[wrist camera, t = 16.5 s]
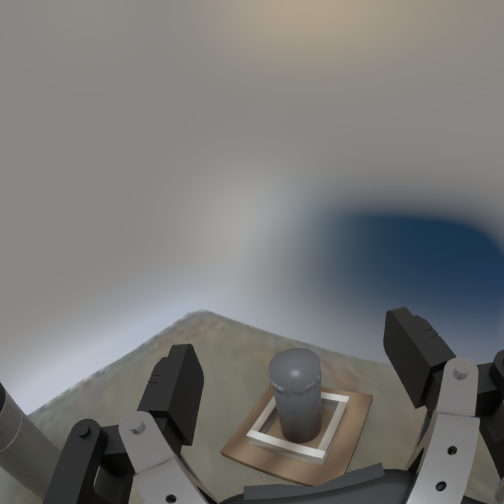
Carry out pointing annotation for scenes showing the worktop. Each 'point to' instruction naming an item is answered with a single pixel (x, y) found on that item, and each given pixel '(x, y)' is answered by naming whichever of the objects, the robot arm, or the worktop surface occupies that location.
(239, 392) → the worktop surface
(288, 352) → the dark grey cylinder
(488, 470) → the worktop surface
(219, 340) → the worktop surface
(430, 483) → the robot arm
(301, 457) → the mount board
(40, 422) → the worktop surface
